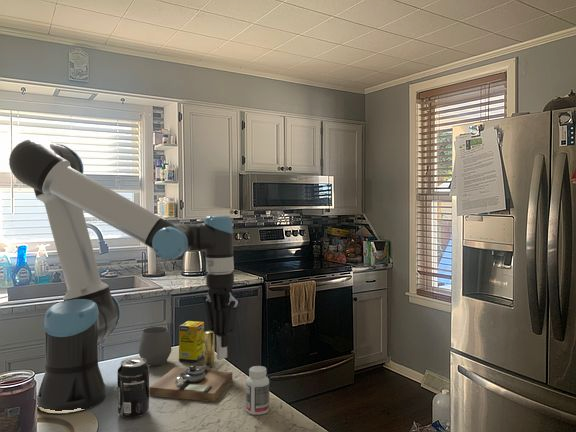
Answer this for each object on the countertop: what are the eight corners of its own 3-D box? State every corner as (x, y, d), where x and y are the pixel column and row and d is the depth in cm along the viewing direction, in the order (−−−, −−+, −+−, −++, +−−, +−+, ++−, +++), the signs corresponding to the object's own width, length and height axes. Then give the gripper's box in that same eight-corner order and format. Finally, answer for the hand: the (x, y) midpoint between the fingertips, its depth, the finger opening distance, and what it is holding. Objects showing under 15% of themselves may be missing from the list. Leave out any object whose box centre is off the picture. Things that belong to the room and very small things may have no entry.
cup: (134, 361, 138) (134, 328, 138) (164, 355, 144) (164, 324, 143) (145, 371, 131) (145, 336, 130) (176, 364, 136) (176, 331, 136)
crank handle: (188, 391, 112) (188, 351, 111) (165, 387, 114) (165, 348, 113) (221, 366, 129) (222, 332, 128) (201, 363, 131) (201, 329, 130)
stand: (149, 395, 115) (149, 385, 115) (174, 374, 128) (174, 365, 128) (213, 401, 111) (213, 391, 111) (232, 379, 125) (232, 371, 125)
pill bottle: (272, 406, 109) (272, 366, 109) (264, 417, 104) (265, 374, 103) (250, 403, 110) (250, 363, 110) (242, 413, 105) (242, 371, 105)
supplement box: (197, 362, 138) (197, 326, 137) (178, 361, 139) (178, 325, 139) (204, 356, 144) (204, 321, 143) (186, 354, 145) (186, 320, 144)
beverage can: (128, 405, 109) (128, 355, 108) (154, 408, 107) (154, 357, 107) (111, 419, 102) (111, 365, 102) (139, 422, 101) (139, 368, 100)
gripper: (194, 272, 126) (196, 357, 127) (225, 276, 118) (228, 367, 119) (214, 268, 132) (216, 350, 133) (246, 272, 124) (248, 359, 125)
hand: (222, 358), depth 126 cm, fingers closed
